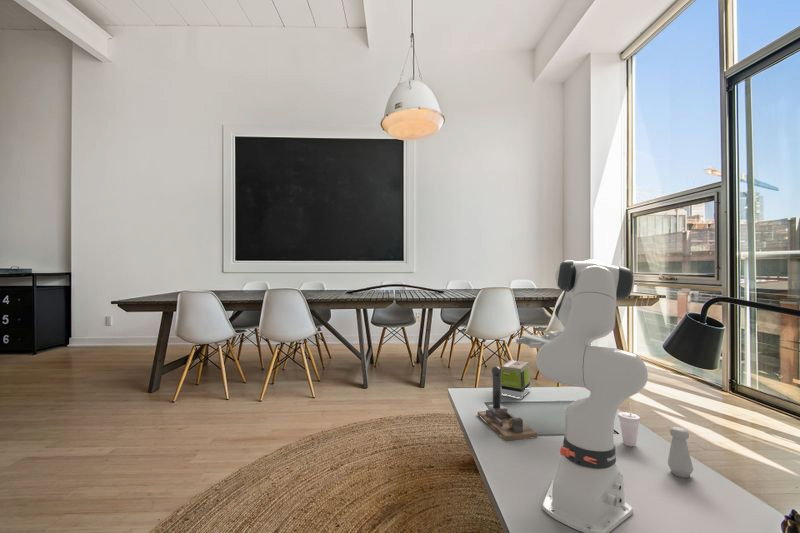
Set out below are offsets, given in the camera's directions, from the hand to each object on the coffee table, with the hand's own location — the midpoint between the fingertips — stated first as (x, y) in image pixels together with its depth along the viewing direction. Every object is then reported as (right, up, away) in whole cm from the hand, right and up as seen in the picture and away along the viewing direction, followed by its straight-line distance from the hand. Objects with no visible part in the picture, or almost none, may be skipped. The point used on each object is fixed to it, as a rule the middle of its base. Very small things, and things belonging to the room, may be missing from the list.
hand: (523, 343), depth 145 cm
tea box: (+6, -31, +27) cm, 42 cm away
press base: (-10, -30, -10) cm, 33 cm away
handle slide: (-12, -28, -4) cm, 30 cm away
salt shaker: (+30, -29, -43) cm, 60 cm away
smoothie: (+28, -29, -25) cm, 47 cm away
